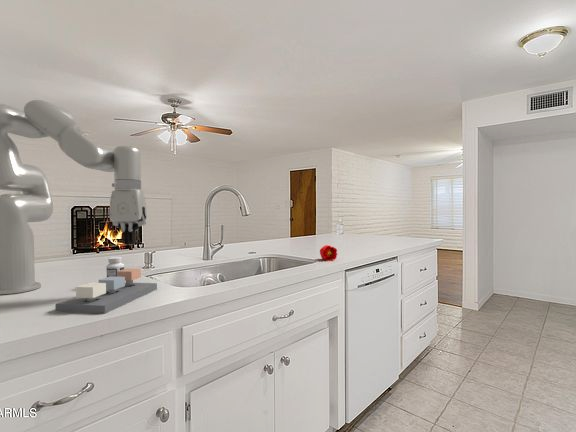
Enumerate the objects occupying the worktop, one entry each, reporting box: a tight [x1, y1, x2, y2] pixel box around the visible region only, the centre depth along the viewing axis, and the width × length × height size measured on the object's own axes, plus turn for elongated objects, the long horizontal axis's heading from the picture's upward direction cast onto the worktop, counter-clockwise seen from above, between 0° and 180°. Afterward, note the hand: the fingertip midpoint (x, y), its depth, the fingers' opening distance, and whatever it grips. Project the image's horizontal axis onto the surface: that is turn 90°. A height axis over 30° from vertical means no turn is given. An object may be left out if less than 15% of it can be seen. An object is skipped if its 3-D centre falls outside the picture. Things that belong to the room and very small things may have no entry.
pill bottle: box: [106, 256, 125, 278], centre depth 108 cm, size 5×5×10 cm
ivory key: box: [75, 282, 106, 302], centre depth 83 cm, size 5×5×5 cm
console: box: [54, 281, 158, 314], centre depth 91 cm, size 14×24×2 cm, turn 172°
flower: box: [319, 244, 338, 262], centre depth 160 cm, size 8×8×8 cm
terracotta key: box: [117, 268, 142, 286], centre depth 99 cm, size 5×5×5 cm
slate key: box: [98, 276, 126, 294], centre depth 91 cm, size 5×5×5 cm
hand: (129, 243), depth 99 cm, fingers closed
